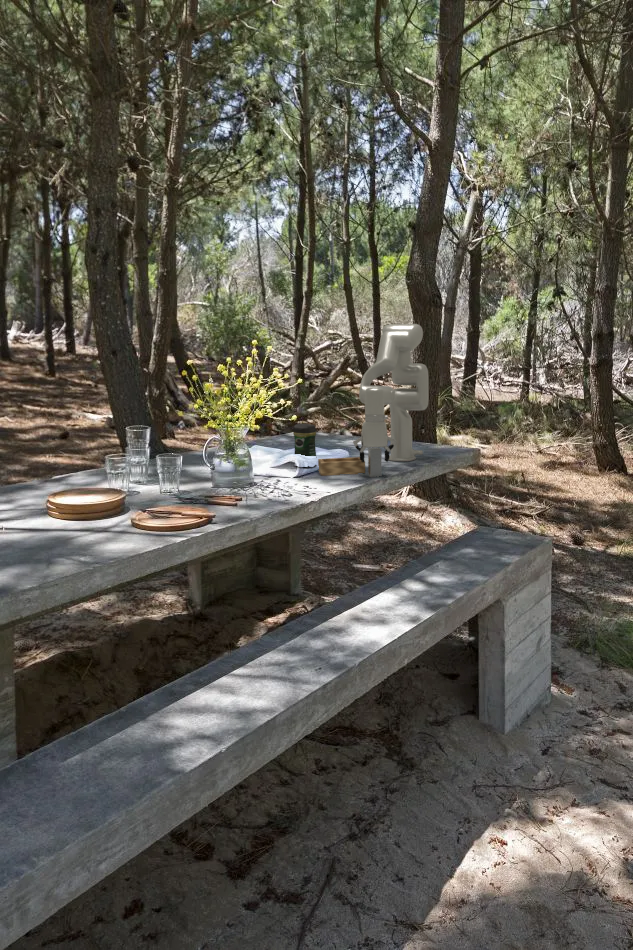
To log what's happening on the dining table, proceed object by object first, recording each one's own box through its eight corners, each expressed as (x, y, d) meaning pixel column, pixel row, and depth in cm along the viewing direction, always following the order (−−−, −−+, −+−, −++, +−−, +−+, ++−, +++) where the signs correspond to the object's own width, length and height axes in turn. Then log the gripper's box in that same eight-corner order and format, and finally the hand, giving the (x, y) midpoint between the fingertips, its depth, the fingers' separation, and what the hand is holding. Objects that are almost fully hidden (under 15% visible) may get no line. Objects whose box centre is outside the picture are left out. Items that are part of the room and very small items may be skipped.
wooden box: (360, 469, 341) (360, 457, 340) (365, 473, 331) (365, 461, 330) (318, 471, 338) (318, 458, 337) (321, 475, 329) (321, 462, 328)
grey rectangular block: (379, 474, 329) (379, 447, 327) (381, 476, 325) (381, 449, 323) (368, 475, 329) (368, 448, 326) (370, 477, 324) (370, 450, 322)
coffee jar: (320, 466, 350) (319, 423, 346) (307, 469, 344) (306, 425, 340) (303, 464, 356) (302, 421, 352) (291, 466, 350) (289, 424, 347)
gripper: (393, 417, 327) (393, 459, 330) (351, 418, 325) (351, 460, 328) (398, 419, 319) (397, 462, 322) (354, 420, 317) (354, 463, 320)
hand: (374, 461), depth 325 cm, fingers open, 9 cm apart
